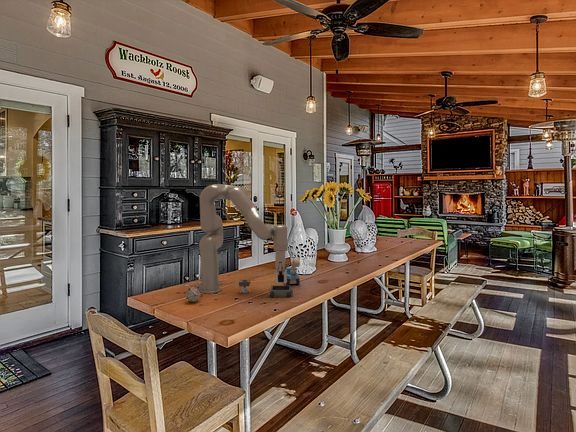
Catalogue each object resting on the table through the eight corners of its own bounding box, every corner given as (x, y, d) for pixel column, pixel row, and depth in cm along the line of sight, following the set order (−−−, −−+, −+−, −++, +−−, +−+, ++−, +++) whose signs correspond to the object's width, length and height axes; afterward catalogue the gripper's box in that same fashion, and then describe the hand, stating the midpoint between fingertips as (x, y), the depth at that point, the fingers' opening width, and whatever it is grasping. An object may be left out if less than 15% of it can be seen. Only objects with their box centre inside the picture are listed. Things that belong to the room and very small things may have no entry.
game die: (191, 308, 193) (187, 290, 198) (206, 302, 193) (202, 284, 197) (183, 304, 185) (179, 286, 190) (199, 299, 185) (195, 280, 189)
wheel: (238, 286, 204) (238, 282, 204) (240, 283, 210) (240, 279, 209) (249, 286, 204) (249, 282, 204) (250, 283, 209) (250, 279, 209)
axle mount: (239, 293, 205) (239, 286, 204) (241, 291, 210) (241, 284, 209) (248, 293, 205) (248, 286, 204) (249, 291, 210) (249, 284, 209)
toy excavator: (289, 289, 213) (289, 259, 212) (281, 281, 229) (281, 254, 228) (303, 288, 216) (303, 258, 214) (295, 280, 232) (295, 253, 230)
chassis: (268, 297, 198) (267, 291, 198) (269, 290, 211) (269, 284, 211) (292, 297, 198) (292, 291, 198) (292, 290, 211) (292, 284, 211)
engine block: (275, 282, 202) (275, 271, 201) (276, 280, 207) (275, 269, 206) (286, 282, 201) (286, 271, 201) (286, 280, 206) (286, 269, 206)
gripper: (274, 245, 211) (275, 276, 213) (272, 250, 194) (273, 285, 196) (287, 244, 211) (288, 276, 212) (287, 250, 194) (287, 285, 195)
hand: (281, 280), depth 204 cm, fingers closed on engine block, 5 cm apart
